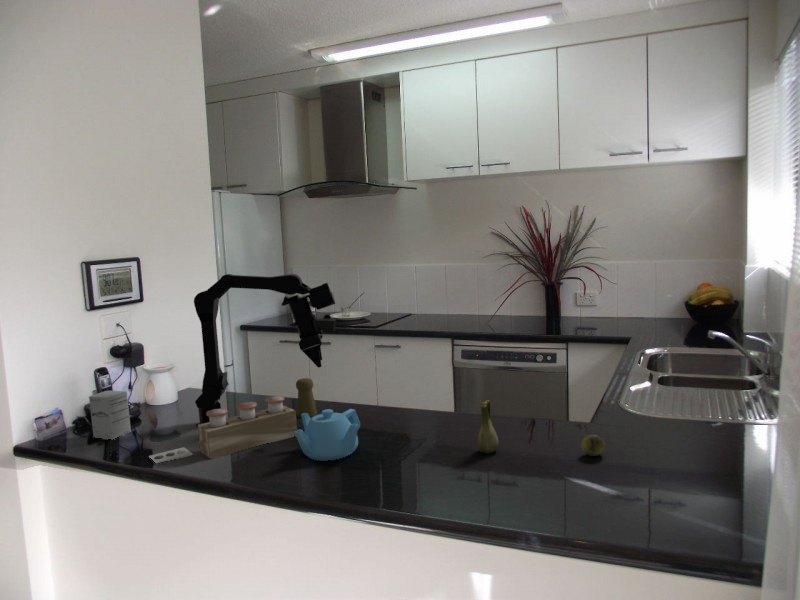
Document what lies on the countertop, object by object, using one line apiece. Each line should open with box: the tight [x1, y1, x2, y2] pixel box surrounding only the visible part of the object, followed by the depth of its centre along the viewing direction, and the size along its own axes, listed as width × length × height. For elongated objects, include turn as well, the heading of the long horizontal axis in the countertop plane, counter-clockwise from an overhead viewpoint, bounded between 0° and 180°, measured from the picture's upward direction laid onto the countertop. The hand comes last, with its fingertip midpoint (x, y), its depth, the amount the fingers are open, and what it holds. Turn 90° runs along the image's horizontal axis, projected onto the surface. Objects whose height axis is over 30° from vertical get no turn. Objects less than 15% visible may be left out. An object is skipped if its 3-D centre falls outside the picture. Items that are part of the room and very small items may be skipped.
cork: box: [295, 377, 318, 418], centre depth 189 cm, size 6×6×11 cm
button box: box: [197, 404, 298, 460], centre depth 165 cm, size 8×24×7 cm, turn 126°
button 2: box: [264, 395, 285, 415], centre depth 169 cm, size 5×5×5 cm
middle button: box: [236, 401, 258, 421], centre depth 164 cm, size 5×5×5 cm
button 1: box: [206, 408, 228, 429], centre depth 160 cm, size 5×5×5 cm
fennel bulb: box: [477, 400, 500, 454], centre depth 147 cm, size 6×5×12 cm
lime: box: [580, 434, 606, 457], centre depth 140 cm, size 4×5×5 cm
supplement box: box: [88, 390, 132, 441], centre depth 180 cm, size 7×7×13 cm
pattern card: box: [148, 446, 193, 464], centre depth 159 cm, size 7×9×1 cm
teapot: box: [294, 408, 362, 462], centre depth 153 cm, size 15×15×11 cm
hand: (320, 363), depth 187 cm, fingers open, 9 cm apart
